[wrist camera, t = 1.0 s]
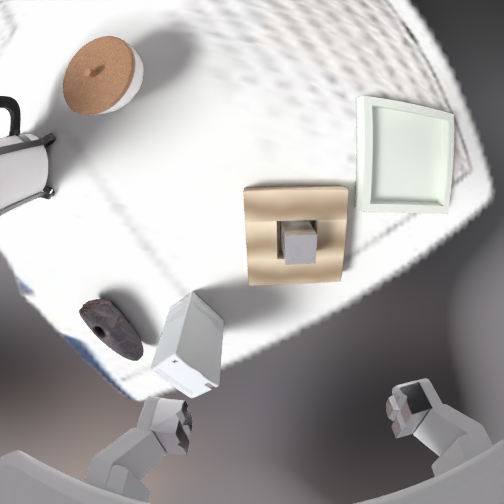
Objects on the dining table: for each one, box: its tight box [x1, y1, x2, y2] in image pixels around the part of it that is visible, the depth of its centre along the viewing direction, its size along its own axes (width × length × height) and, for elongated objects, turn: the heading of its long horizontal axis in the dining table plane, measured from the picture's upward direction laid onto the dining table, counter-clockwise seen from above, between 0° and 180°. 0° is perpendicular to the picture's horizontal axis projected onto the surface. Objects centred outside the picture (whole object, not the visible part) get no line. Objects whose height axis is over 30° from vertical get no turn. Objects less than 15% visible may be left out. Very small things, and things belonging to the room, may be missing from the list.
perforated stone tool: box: [79, 299, 143, 361], centre depth 44 cm, size 15×5×7 cm, turn 28°
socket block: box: [243, 186, 348, 286], centre depth 39 cm, size 14×14×2 cm
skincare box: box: [150, 292, 224, 398], centre depth 39 cm, size 8×6×15 cm
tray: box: [355, 96, 454, 214], centre depth 33 cm, size 16×16×3 cm
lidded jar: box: [63, 36, 144, 115], centre depth 26 cm, size 11×11×9 cm
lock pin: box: [281, 220, 317, 265], centre depth 37 cm, size 4×4×6 cm
